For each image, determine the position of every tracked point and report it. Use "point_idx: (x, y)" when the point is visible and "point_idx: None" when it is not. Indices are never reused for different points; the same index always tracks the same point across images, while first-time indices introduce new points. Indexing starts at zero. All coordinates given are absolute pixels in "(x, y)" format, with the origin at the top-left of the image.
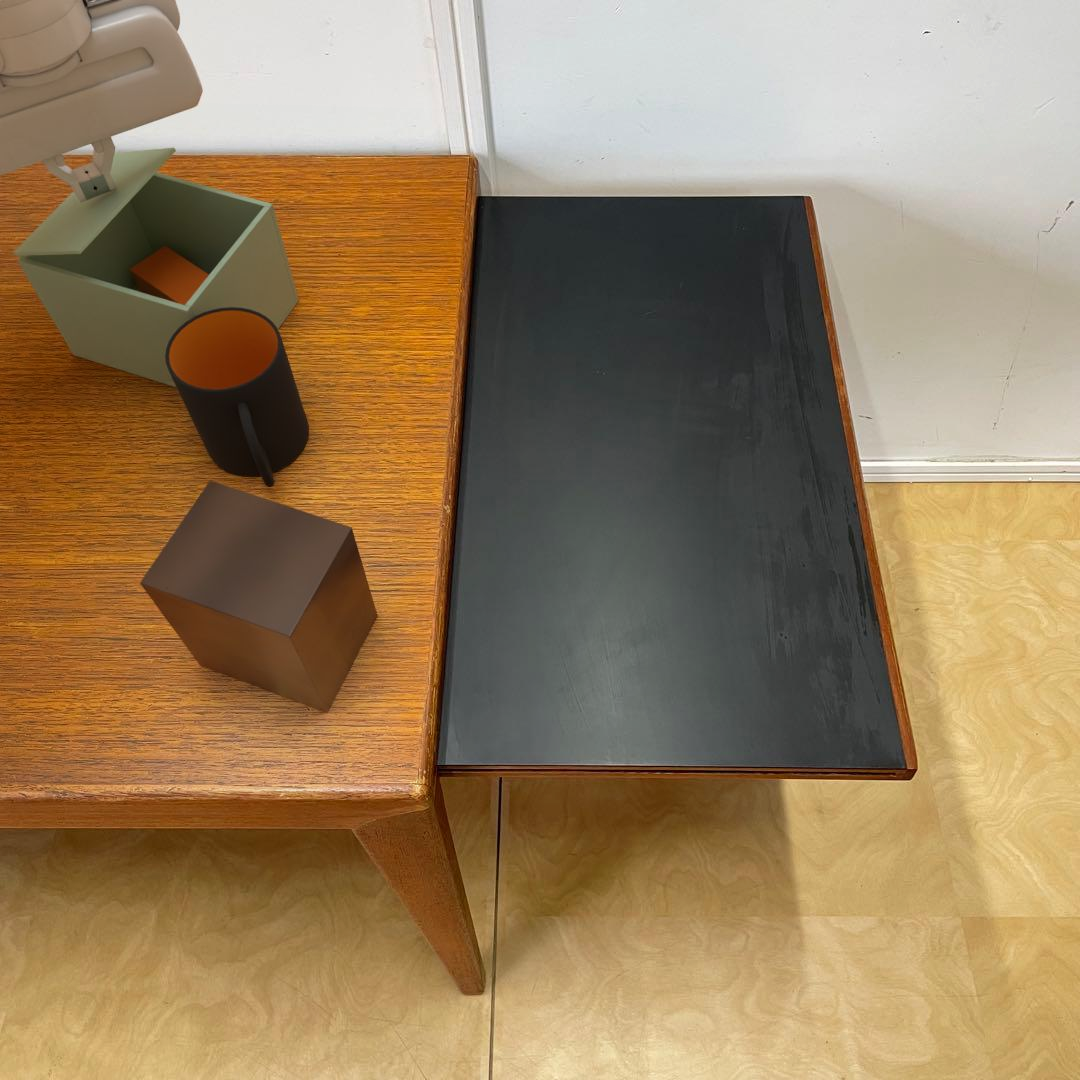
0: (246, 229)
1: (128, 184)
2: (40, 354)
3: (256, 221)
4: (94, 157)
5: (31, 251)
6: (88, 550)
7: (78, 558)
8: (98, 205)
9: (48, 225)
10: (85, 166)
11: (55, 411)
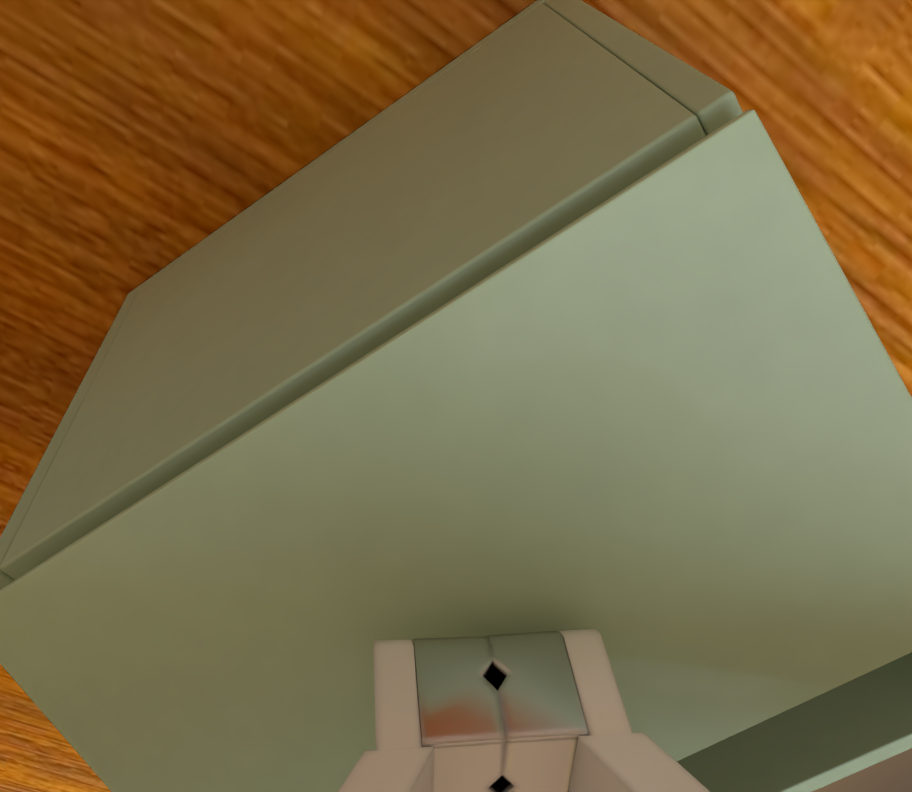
0: (845, 767)
1: (650, 682)
2: (18, 230)
3: (898, 752)
4: (605, 781)
5: (55, 719)
6: (54, 773)
7: (31, 779)
8: None
9: (172, 573)
10: (519, 751)
11: (36, 458)
